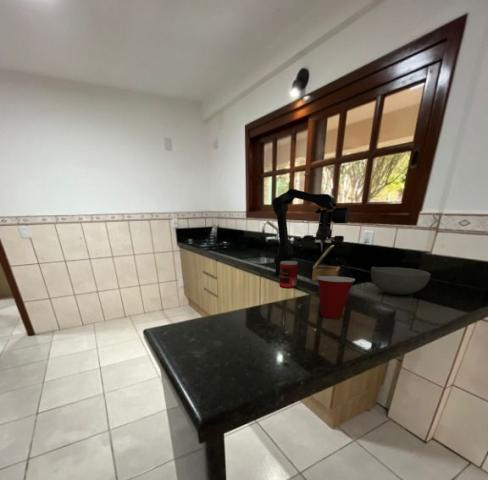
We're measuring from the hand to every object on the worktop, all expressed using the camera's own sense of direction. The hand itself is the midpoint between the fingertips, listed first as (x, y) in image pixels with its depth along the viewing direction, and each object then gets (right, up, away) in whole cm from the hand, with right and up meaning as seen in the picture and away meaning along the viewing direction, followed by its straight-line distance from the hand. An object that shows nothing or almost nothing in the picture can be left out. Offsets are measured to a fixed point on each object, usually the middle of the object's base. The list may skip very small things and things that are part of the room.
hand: (321, 256), depth 131 cm
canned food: (-19, -17, -13) cm, 29 cm away
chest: (+3, -11, +3) cm, 12 cm away
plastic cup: (-12, -31, -50) cm, 61 cm away
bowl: (+22, -22, -26) cm, 40 cm away
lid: (+1, 0, 0) cm, 1 cm away
